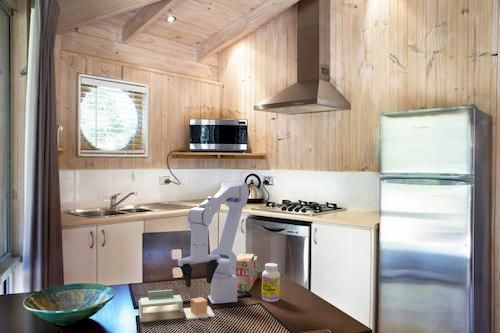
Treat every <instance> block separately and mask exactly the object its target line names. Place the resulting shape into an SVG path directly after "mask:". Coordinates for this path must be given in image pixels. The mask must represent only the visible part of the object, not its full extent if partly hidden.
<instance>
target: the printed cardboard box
mask: <svg viewBox="0 0 500 333" xmlns="http://www.w3.org/2000/svg"><path fill="white" fill-rule="evenodd" d="M236 257H237V260H236V270H235V272H234V274H233V275H236V277H237V290H241V291H240V292H245V291H247V293H249V291H250V290H251V289H252V287H253V286H254V284H255V282H256V280H257V279H258V273H259V272H258V271H259V267H258V266H259V265H258V256H256V255H255V253H244V252H243V253H241V252H240V253H239V254H238V255H237V256H236Z"/></svg>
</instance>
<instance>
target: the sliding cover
mask: <svg viewBox="0 0 500 333" xmlns="http://www.w3.org/2000/svg"><path fill="white" fill-rule="evenodd" d="M139 298H140V299H139V300H140V313H141V316H143V307H150V306H162V305H173V304H177V303H178V306H179V309H180V312H183V313H184V311H183V305H184V304H183V303H184V302H183V299H182V295H181V294H176V295H174V289H163V290H160V289H159V290H148V292H147V296H146V297H139Z"/></svg>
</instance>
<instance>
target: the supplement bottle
mask: <svg viewBox="0 0 500 333" xmlns="http://www.w3.org/2000/svg"><path fill="white" fill-rule="evenodd" d="M278 268H279V267H278V264H277V263H273V262H268V263H265V264H264V269H265V270H263V271H262V273H261V276H262V277H261V299H262V300H263V301H265V302H267V303H268V302H269V303H273V302H278V301H279V300H280V298H281V297H280V292H281V287H280V286H281V273H280V272H279V270H278Z"/></svg>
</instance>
